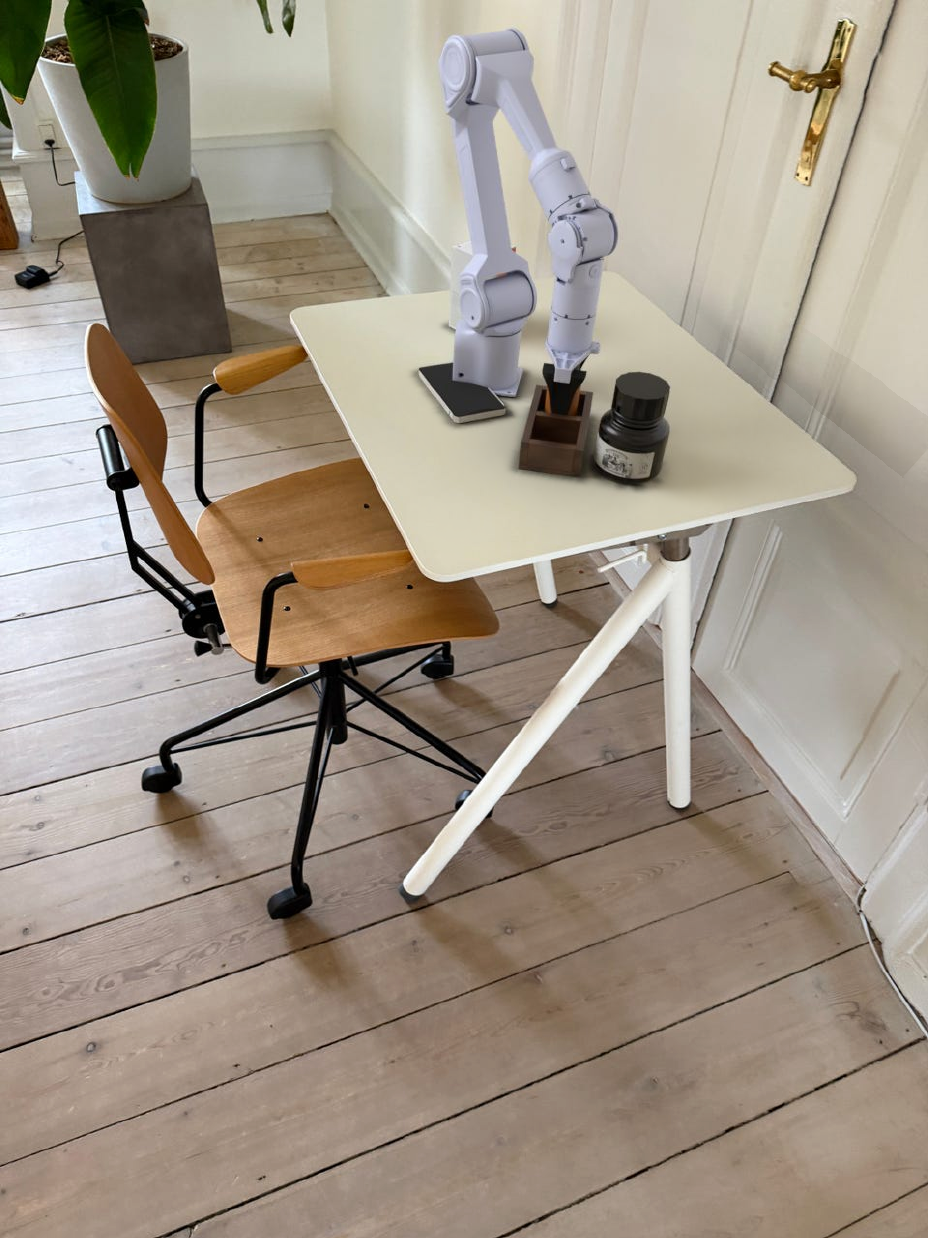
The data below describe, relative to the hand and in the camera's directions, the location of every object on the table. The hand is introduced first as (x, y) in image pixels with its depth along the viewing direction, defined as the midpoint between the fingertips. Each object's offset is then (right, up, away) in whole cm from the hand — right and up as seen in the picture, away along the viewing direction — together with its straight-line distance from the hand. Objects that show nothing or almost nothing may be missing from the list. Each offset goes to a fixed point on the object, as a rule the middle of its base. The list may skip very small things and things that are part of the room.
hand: (561, 405), depth 126 cm
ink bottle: (+8, -9, -3) cm, 13 cm away
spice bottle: (0, -2, +2) cm, 3 cm away
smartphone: (-14, +3, +9) cm, 17 cm away
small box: (-11, +18, +24) cm, 32 cm away
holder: (-1, -5, 0) cm, 5 cm away
